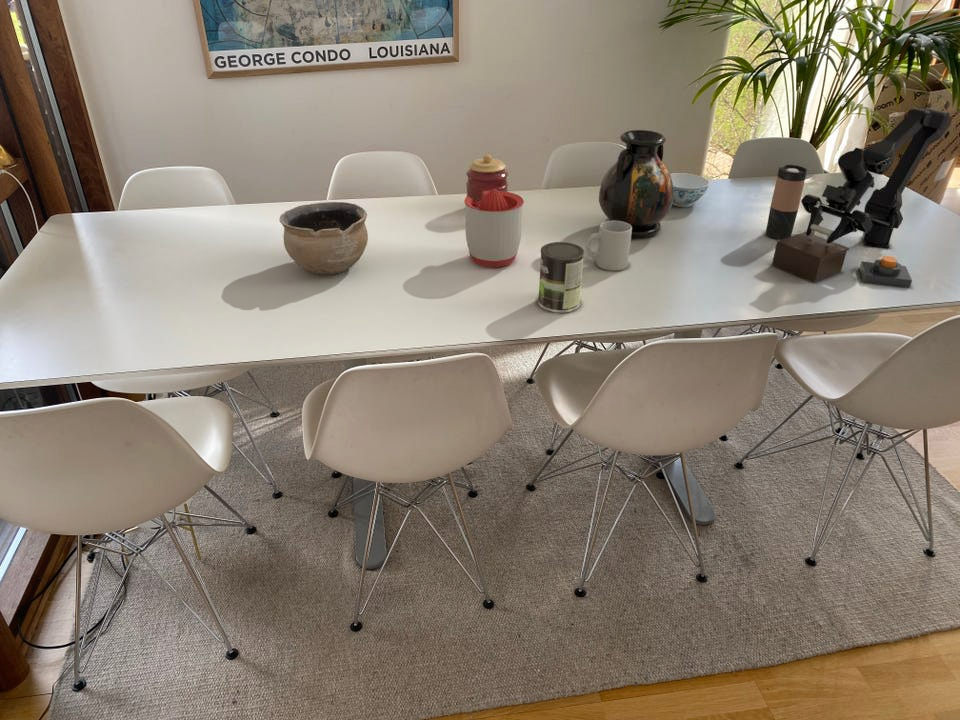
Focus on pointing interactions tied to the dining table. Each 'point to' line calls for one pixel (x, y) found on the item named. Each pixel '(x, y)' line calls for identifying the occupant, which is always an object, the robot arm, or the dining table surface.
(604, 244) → the mug
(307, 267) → the ceramic bowl
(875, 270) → the control block
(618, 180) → the amphora vase
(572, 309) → the coffee can
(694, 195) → the chinaware
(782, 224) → the travel mug
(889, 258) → the release button
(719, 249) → the dining table surface
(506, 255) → the citrus juicer
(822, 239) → the lid
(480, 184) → the kitchen canister
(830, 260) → the brown lidded box
